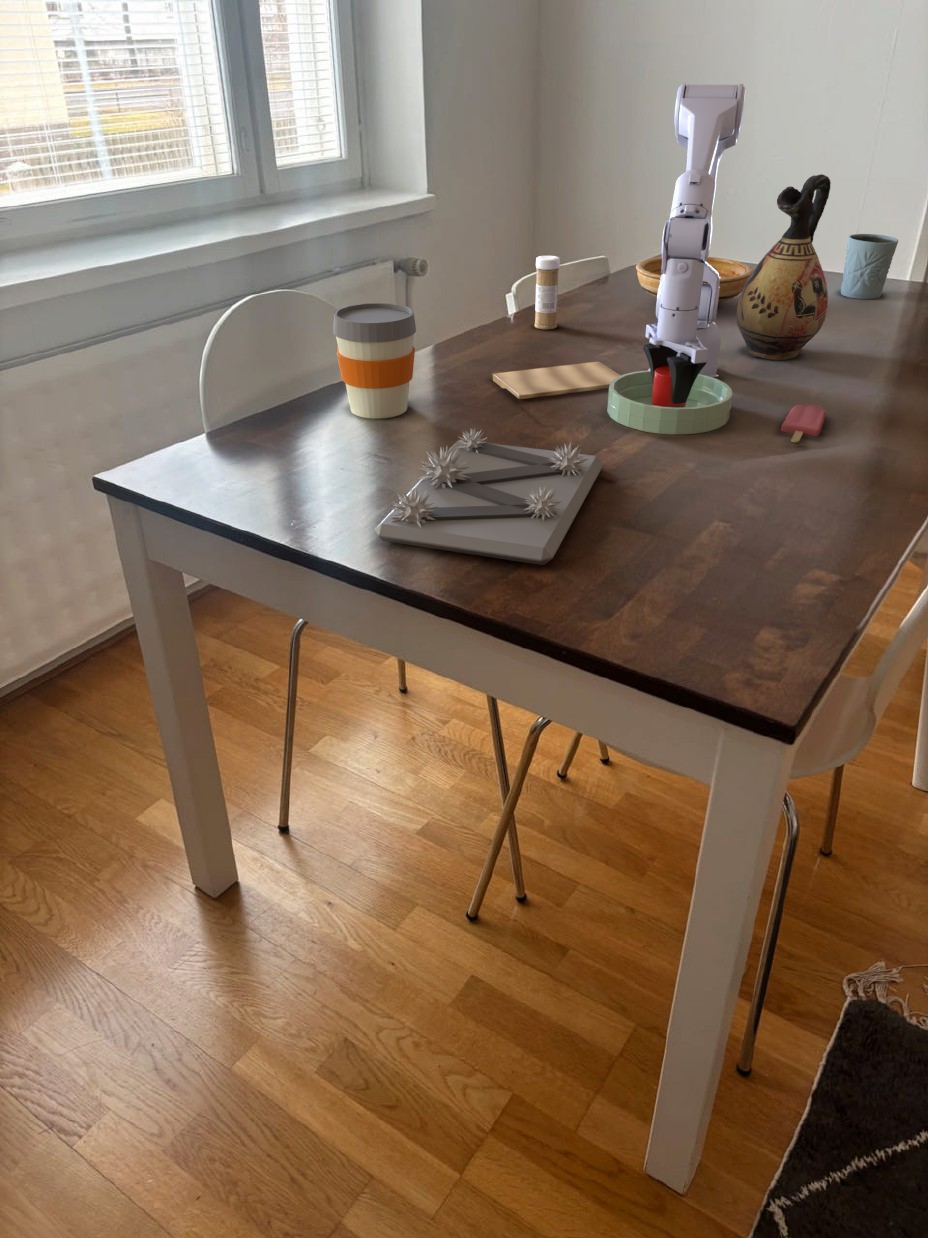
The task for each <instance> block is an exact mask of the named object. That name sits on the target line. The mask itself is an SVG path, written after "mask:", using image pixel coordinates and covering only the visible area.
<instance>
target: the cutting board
mask: <svg viewBox="0 0 928 1238" xmlns="http://www.w3.org/2000/svg"><path fill="white" fill-rule="evenodd" d="M621 375H622V374H619V373H618V372H616V371H614V370H613V369H611V368H610V367H609V366H607V365H605V364H604V363H602V362H600V361H591V362H582V363H573V364H565V365H557V366H556V365H555V366H549V367H547V366H546V367H539V368H530V369H521V370H514V371H513V370H512V371H504V372H497V373H492V381H493V382H494V383H495V384H496V385H498V386H499V387H500V388H501V389H506V390H507V391H509V392H510V393H511V394H512V395H513V396H515V397H516V398H517V399H519V400H524V399H525V400H526V399H531V398H532V399H533V398H540V397H548V396H557V395H564V394H565V395H566V394H571V393H572V394H573V393H580V392H588V391H589V392H590V391H596V390H604V389H605V390H606V389H609V385H610V382H611V381H613V380H614V379H615V378H617V377H619V376H621Z"/></svg>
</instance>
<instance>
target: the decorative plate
mask: <svg viewBox="0 0 928 1238" xmlns="http://www.w3.org/2000/svg"><path fill="white" fill-rule="evenodd" d="M482 430H483V429H480V431H476V428H473V429H470V432H469V431H468V430H461V432H462V437H461V436H458V438H459V439H458V440H456V441H455V443H453V444H452V445H451V446H450V448H448V447H449V446H446V448H445V446H440V448H439V455H438V454H437V453H436V451H435V450H434V449H432V450H433V451H432V450H431V449H430V450H429V451H430V453H431V454H430V453H429V452H426V454H427V455H428V456H427V459H428V460H429V462H428V461H427V462H426V461H423V460H419V462H420V463H422V464H421V465H420V466H421V467H420V466H419V467H416V468H417V469H420V470H422V471H424V472H426V473H425V474H423V475H422V476H420V477H418V478H417V479H418V480H419V479H420V480H419V481H418V482H417V483H416V484H415V485H414V486H413V487H412V488H410V489H409V492H408V493H407V494H406V493H405V492H404V491H402V490H400V492H401V494H402V496H403V497H402V496H401V495H400V494H399V493H398V492H396V494H397V496H398V500H400V501H399V502H396V501H390V502H391V503H392V507H390V506H389V507H388V508H389V509H391V511H390V512H389V513H388V514H387V516H385V517H384V518H383V520H381V522H379V524H378V525H377V526H376V527H375V528H374V529H373V533H374V534H375V535H377V537H378V538H379V539H380V540H381V541H383V542H389V543H396V544H402V545H407V546H408V545H409V546H414V547H422V548H428V549H434V550H441V551H446V552H454V553H461V554H466V555H467V554H468V555H474V556H481V557H486V558H493V559H501V560H506V561H512V562H519V563H520V562H521V563H527V564H533V565H539V566H544V565H546V564H547V563H548V562H550V561H552V560H553V559H554V557H555V555H556V553H557V551H558V550H559V548H560V546H561V544H562V542H563V540H564V539H565V537H566V535H567V533H568V531H569V529H570V528H571V525H572V524H573V522H574V521H575V518H576V516H577V515H578V513H579V511H580V509H581V508H582V505H583V504H584V502H585V500H586V498H587V496H588V495H589V493H590V491H591V489H592V487H593V486H594V484H595V482H596V481H597V479H598V476H599V475H600V473H601V471H602V469H603V468H604V463H603V462H602V461H601V460H600V458H599V457H598V456H597V455H592V454H583V453H581V450H582V448H580V449H579V450H578V448H579V447H580V444H578V445H577V447H574V449H573V450H572V442H570V443H569V444H568V445H566V444H564V448H563V446H560V448H559V446H556V447H557V448H556V447H554V449H555V450H549V449H541V448H534V447H524V446H518V445H517V446H515V445H508V444H500V443H499V444H498V443H491V442H489V440H487V439H489V438H488V437H483V435H484V432H482ZM481 432H482V433H481Z"/></svg>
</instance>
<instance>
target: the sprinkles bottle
mask: <svg viewBox="0 0 928 1238" xmlns="http://www.w3.org/2000/svg"><path fill="white" fill-rule="evenodd" d="M560 261H561V259H560V257H559V256H556V255H539V256H537V257H536V258H535V268H536V283H535V307H534V308H535V309H534V310H535V315H534V318H535V319H534V320H535V321H534V327H535V328H536V329H539V330H545V331H547V330H554V329H555V328H557V327H558V323H557V321H558V319H557V318H558V317H557V316H558V304H559V294H558V293H559V270H560V266H561V265H560V263H561V262H560Z"/></svg>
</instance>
